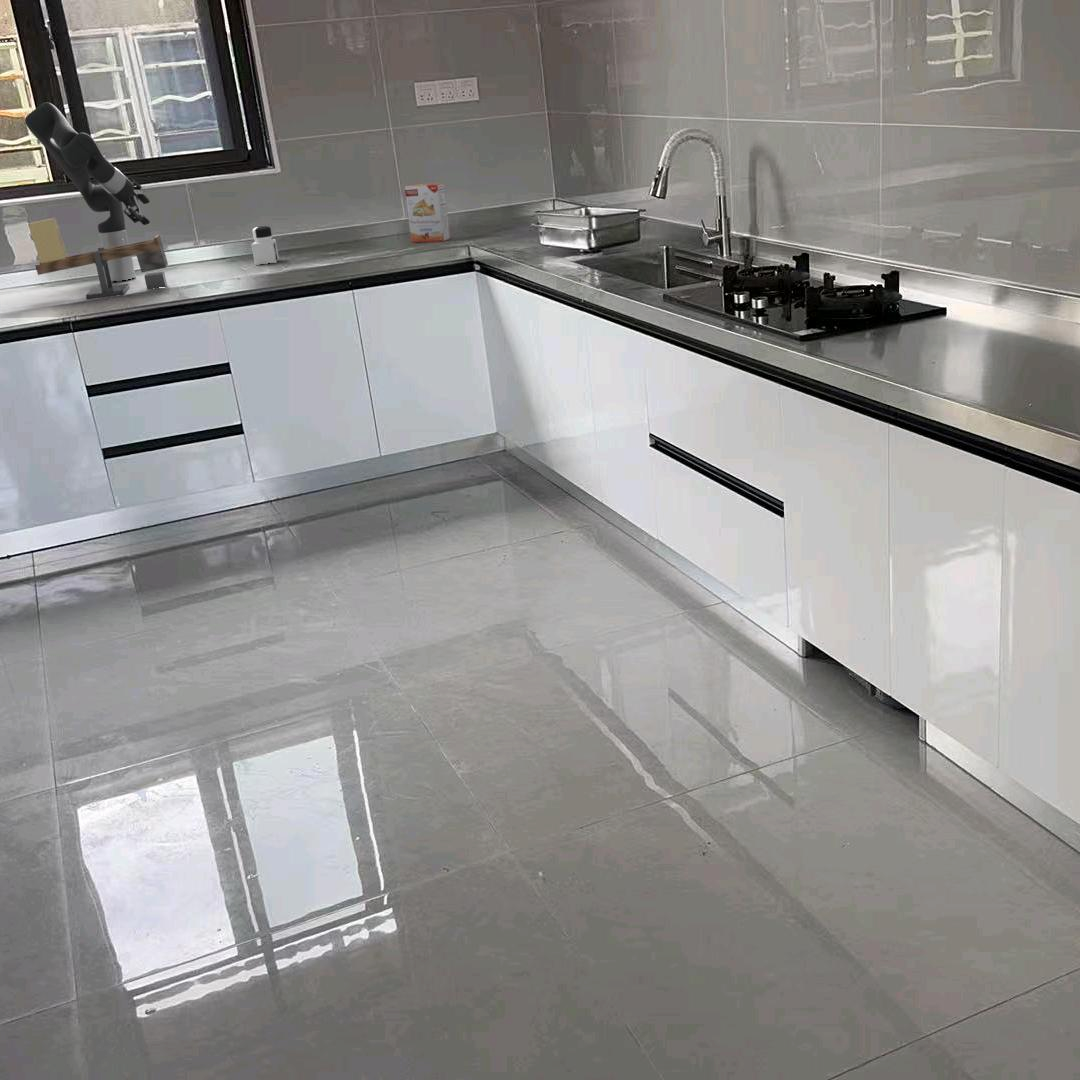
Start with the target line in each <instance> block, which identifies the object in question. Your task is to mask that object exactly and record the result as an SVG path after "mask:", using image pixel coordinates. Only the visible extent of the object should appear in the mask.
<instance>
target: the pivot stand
mask: <svg viewBox="0 0 1080 1080" xmlns="http://www.w3.org/2000/svg"><path fill="white" fill-rule="evenodd" d="M103 249H105V248H104V247H103V248H102V247H98V248H97V251H98V250H103ZM92 252H93V251H92ZM93 254H94V258H95V263H96V264H95V263H94V264H95V267H96V271H97V272H96V273H97V275H98V279H99V280H98V281H99V284H100V286H98V287H92V288H91V289H90V290H89V291H88V292H87V293H86V294H85V298H86V300H96V299H101V298H102V299H103V298H110V297H111V296H112V297H118V296H117V295H120V296H124V295H125V294H126V293H127V292H128V291H129V289H130V288H131V287H130V284H129V283H122V284H121V283H120V284H113V282H112V280H111V275H110V271H109V266H108V262H107V263H106V264H105V265H104V266H103V263H102V258H101V253H100V251H98V252H93ZM143 277H144V281H145V285H146V286H145V287H146V290H147V289H153V288H159V287H166V288H167V286H168V284H167V283H168V282H167V278H166V274H165V271H157V272H146V274H145V275H144V276H143ZM166 285H167V286H166ZM153 290H154V289H153ZM112 297H111V298H112Z"/></svg>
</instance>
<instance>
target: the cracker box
mask: <svg viewBox="0 0 1080 1080" xmlns="http://www.w3.org/2000/svg"><path fill="white" fill-rule="evenodd" d="M445 189H446V188H445V183H443V182H439V183H421V184H420V183H418V184H408V185H406V186H404V190H405V193H404V194H405V199H406V201H405V202H406V207H407V209H406V210H407V215H408V216H407V217H408V224H409V231H410V239H411V243H435V242H436V243H439V242H440V243H442V242H446V241H449V240H451V234H450V233H451V232H450V223H449V215H448V207H447V199H446V197H447V196H446V190H445Z"/></svg>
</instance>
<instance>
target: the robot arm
mask: <svg viewBox="0 0 1080 1080" xmlns="http://www.w3.org/2000/svg"><path fill="white" fill-rule="evenodd" d="M24 123H25V125H26V127H27V128H28V130H29V131H30V132H31V134H32V135H33V136H34V137H35V138H36V139H37V140H38V141H39V142H40V144H42V146H43V147H44V148H45V149H46V151H48V152H49V154H50V155H51V156H52V158H53V159H54V161H55V162H56V164H57V165H58V166H59V167H60V169H62V171H63V172H64V173H65V175H66V176H67V177H68V178H69V180H71V182H72V183H73V185H74V186H75V187H76V188H77V190H78V191H79V193H80V195H81V196H82V198H83V199H84V201H85V203H86V204H87V206H88V207H89V209H90V210H92V211H94V212H95V213H102V212H103V213H104V212H109V217H108V218H107V219H106V220H104V221H102V222H100V223H98V224H97V230H98V234H99V239H100V243H101V244H100V245H101V248H103V247H104V248H105V249H108V248H113V247H117V246H122V245H127V244H130V243H129V239H128V238H129V237H128V234H127V229H126V222H125V221H126V220H125V216H127V218H129V219H130V221H132V222H133V223H134V224H136V223H139V222H140V223H141V225H144V226H147V225H148V224H150V220H149V219H148V218H147V217H146V216H145V215H144V214H143V213H142V211H141V209H142V208H141V207H140V205H139V201H140V202H141V203H142V204H143V205H146V204H149V203H150V199H149V198H148V197H147V196H146V195H145V194H144V192H143V190H142V185H141V184H140V183H139V182H138V181H137V180H135V179H134V178H133V177H132V176H129V177H126V175H125V174H124V173H122V172H121V170H120V169H118V168H117V167H115V166H114V165H113V164H112V163H111V162H110V161H109V160H108V159H107V158H106V157H105V156H104V155H103V153H102V152H101V150H100V147H99V146H98V144H97V142H96V140H95V139H94V138H93V137H92V136H91V135H90V134H88V133H86V132H79V133H78V132H77V131H76V130H75V129H74V128H73V127H72V126H71V124H70V123H69V121H68V120H67V118H66V117H65V116H64V114H62V112H61V110H60V109H58V108H57V107H56V106H55V105H54V104H53V103H51V102H49V101H48V102H47V101H46V102H42V103H41V104H39V106H37V107H36V108H35V109H33V110H32V111H31V112H30V113H28V114H27V115H26V117H25V119H24ZM91 178H93V180H95V181H96V182H97V183H98V184H93V183H92V182H91V181H90V180H91ZM138 200H139V201H138ZM123 205H124V206H125V209H123ZM135 207H136V208H135ZM124 214H125V215H124ZM132 256H133V255H132ZM132 256H127V257H122V258H118V259H113V260H108V266H109V271H110V275H111V280H112V283H114V282H113V281H117V282H123V281H122V280H126V281H129V280H128V279H131V280H133V279H132V278H134V279H136V278H137V275H136V271H135V267H134V262H133V257H132ZM135 277H136V278H135Z"/></svg>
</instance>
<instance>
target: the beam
mask: <svg viewBox="0 0 1080 1080" xmlns="http://www.w3.org/2000/svg"><path fill="white" fill-rule="evenodd" d="M98 251H100V253H101V258H102V263H103V266H104V265H105V264H106V263H107V262H108V260H113V259H118V258H122V257H127V256H136V258H137V262H138V264H139V265H138V266H139V268H140V272H141V273H148V272H153V271H156V270H160V269H166V268H167V267H168V265H169V262H168V260H167V256H166V252H165V248H164V246H163V242H162V239H161V235H160V234H156V235H155V236H154V237H153V238H152V239H147V240H142V241H137V242H132V243H129V244H127V245H122V246H117V247H113V248H108V249H103V250H98V249H97V250H95V251H89V252H85V253H79V254H75V255H71V256H69V255H68V258H69V259H64V260H59V261H54V262H49V263H45V264H41V262H39V264H36V265H35V270H36V272H37V276H40V275H46V274H48V273H49V274H50V273H55V272H60V271H64V270H69V269H75V268H78V267H82V266H83V267H84V266H88V265H93V264H95V265H96V263H95V258H94V254H93V252H98Z"/></svg>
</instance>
